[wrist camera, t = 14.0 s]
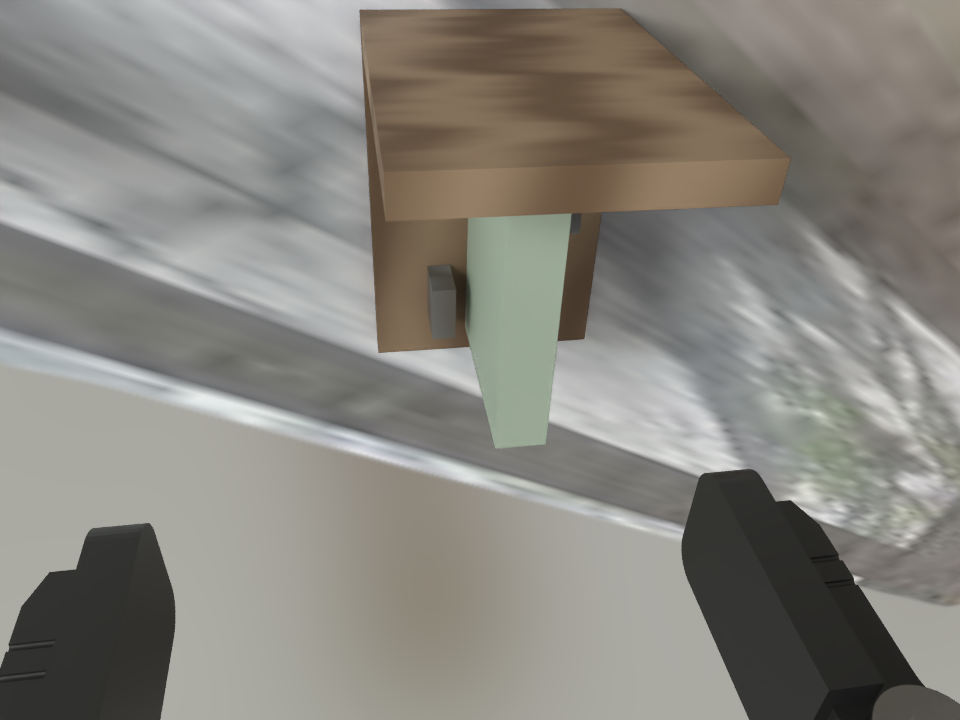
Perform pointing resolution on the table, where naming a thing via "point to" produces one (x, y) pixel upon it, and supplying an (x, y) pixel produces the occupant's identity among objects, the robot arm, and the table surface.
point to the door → (516, 318)
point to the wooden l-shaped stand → (531, 147)
